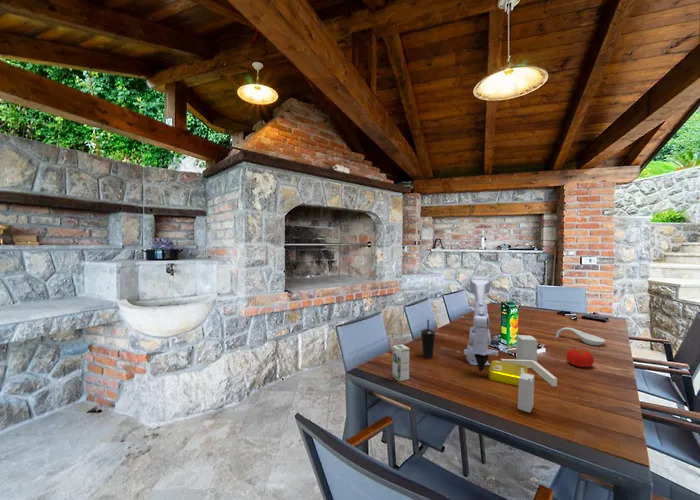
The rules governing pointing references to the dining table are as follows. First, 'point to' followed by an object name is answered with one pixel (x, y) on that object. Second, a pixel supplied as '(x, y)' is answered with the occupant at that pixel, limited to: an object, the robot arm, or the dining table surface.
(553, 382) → the white l-shaped strip
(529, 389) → the skincare box
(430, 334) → the drinking cup
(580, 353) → the tomato
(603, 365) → the dining table surface
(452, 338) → the dining table surface
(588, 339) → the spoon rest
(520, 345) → the supplement box
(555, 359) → the dining table surface
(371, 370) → the dining table surface
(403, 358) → the syrup box
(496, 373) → the element tile
